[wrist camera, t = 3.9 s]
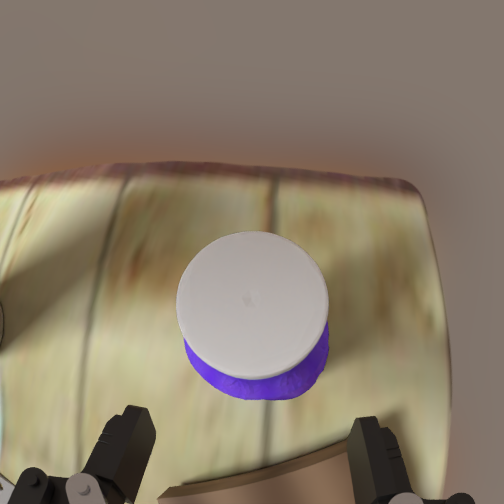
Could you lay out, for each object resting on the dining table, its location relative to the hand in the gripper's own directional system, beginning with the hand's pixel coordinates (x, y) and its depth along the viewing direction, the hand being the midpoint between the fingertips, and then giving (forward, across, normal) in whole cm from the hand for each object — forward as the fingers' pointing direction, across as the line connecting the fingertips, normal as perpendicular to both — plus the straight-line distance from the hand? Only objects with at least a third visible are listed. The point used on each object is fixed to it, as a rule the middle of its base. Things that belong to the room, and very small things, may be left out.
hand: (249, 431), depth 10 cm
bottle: (+12, 0, +6) cm, 14 cm away
